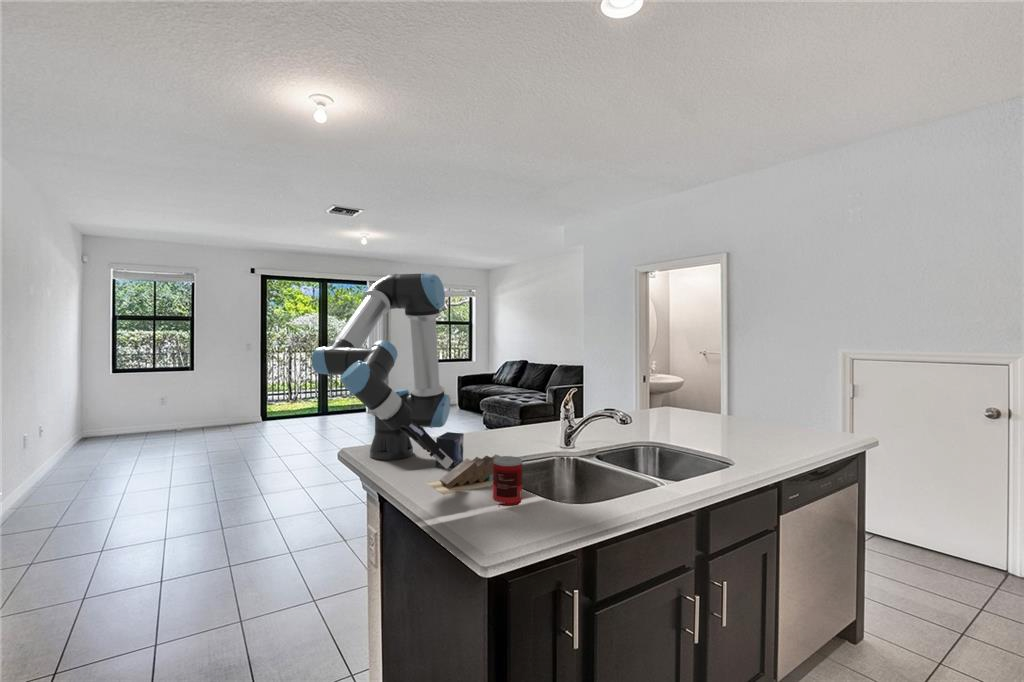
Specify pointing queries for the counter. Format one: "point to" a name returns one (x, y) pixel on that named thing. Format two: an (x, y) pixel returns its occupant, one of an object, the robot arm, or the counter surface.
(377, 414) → the robot arm
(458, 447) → the small box
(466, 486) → the board
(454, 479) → the domino
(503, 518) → the counter surface
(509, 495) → the canned food
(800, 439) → the counter surface
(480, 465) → the domino
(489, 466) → the domino
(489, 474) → the domino
